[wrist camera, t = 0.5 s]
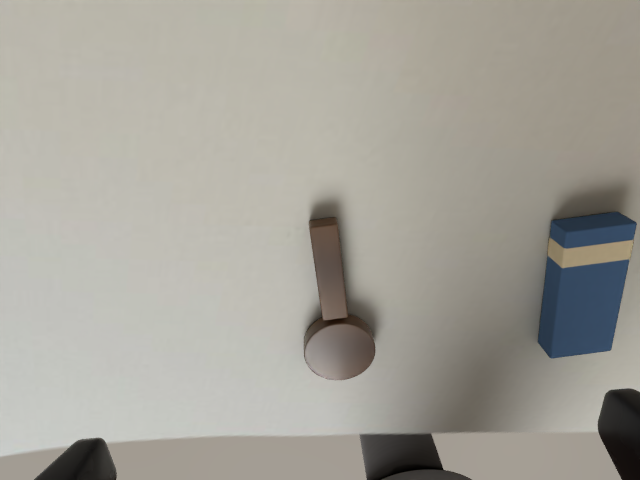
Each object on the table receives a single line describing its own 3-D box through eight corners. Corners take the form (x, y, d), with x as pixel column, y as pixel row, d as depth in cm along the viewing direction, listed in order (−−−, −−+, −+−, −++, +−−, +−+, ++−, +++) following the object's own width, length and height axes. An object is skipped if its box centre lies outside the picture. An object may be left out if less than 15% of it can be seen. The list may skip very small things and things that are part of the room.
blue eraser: (595, 334, 27) (612, 351, 25) (536, 342, 27) (550, 359, 25) (618, 210, 23) (638, 222, 22) (550, 219, 23) (566, 232, 22)
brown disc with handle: (374, 363, 27) (377, 375, 26) (308, 372, 27) (309, 384, 26) (362, 212, 22) (364, 220, 22) (282, 223, 22) (282, 231, 22)
